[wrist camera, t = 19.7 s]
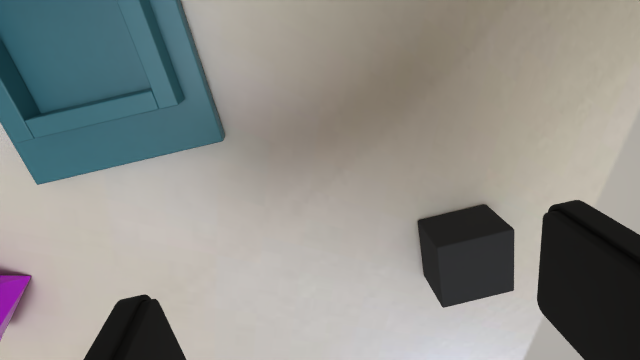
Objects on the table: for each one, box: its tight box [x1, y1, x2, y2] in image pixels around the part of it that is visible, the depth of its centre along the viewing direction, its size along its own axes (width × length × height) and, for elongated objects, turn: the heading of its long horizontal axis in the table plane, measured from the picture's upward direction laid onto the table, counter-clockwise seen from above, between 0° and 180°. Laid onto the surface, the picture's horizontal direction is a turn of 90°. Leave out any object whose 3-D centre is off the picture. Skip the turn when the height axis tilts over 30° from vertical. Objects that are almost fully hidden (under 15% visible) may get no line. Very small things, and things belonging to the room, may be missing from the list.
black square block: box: [418, 205, 514, 308], centre depth 25 cm, size 5×5×4 cm
